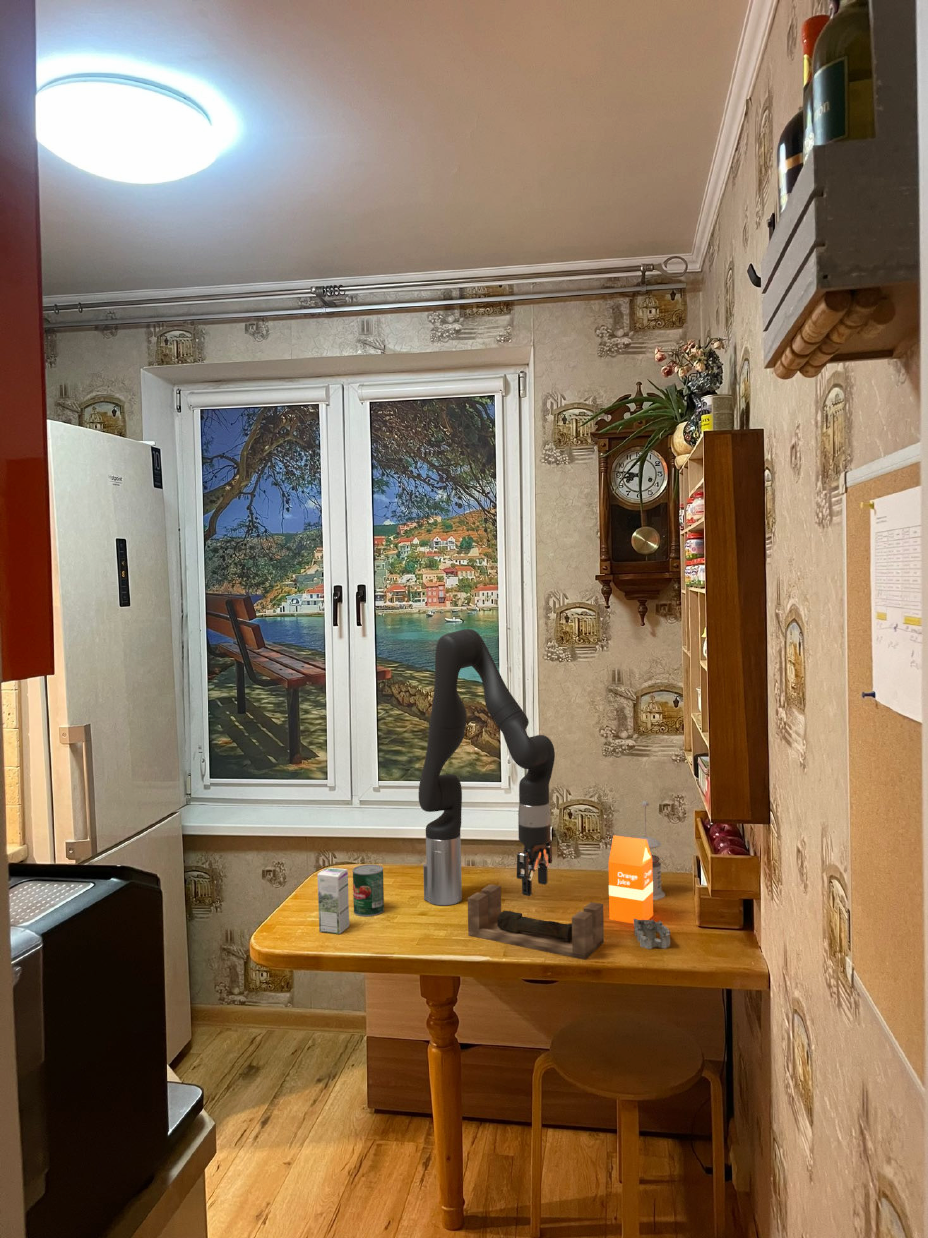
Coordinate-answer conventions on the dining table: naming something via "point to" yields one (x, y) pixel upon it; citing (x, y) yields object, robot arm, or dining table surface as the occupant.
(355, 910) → the canned tomato
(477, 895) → the cradle
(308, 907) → the dining table surface
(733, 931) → the dining table surface
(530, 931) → the hand tool
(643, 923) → the egg carton
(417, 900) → the dining table surface
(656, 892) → the french press
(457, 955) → the dining table surface
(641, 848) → the orange juice
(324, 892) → the syrup box
